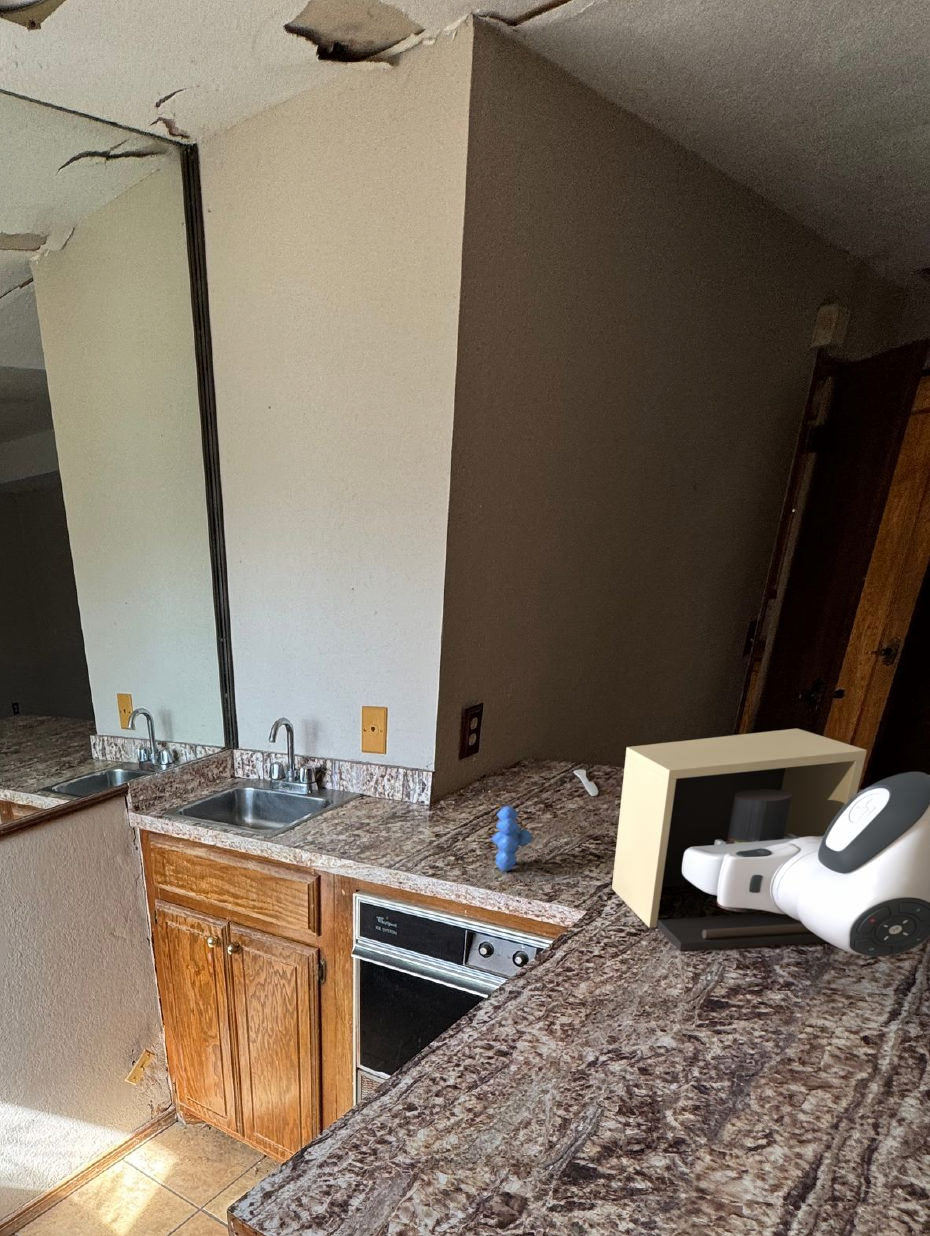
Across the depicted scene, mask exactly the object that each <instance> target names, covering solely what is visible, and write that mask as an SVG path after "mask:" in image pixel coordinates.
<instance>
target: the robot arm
mask: <svg viewBox="0 0 930 1236" xmlns="http://www.w3.org/2000/svg"><path fill="white" fill-rule="evenodd" d="M682 874H683V876H684V877H685V878H686V879H687V880H688V881H689V882H691V883H692V884H693V885H692V886H694V887H696V888H697V889H698V890H701V891H702V892H703V893H706V894H708V895H712V896H716V903H717V902H718V903H719V904H720V905H721V906H724V907H730V908H745V909H758V910H765V911H766V912H769V913H771V912H774V913H779V914H787V915H789V916H791V917H792V918H794V919H796V920H799V921H801V922H802V923H803V925H804V926H805V927H806V928H807V929H809V930H810V931H812V932H813V933H814V934H816V935H817V936H819V937H821V938H822V939H824V940H825V941H827V942H828V944H830V945H832V946H834V947H836V948H839V949H840V950H843V951H845V952H847V953H850V954H854V955H858V956H863V957H870V958H872V957H873V958H882V957H890V956H896V955H900V954H903V953H905V952H908V951H912V950H913V949H915V948H917V947H920V945H922V944H923V943H925V942H926V941H927V940H928V939H930V774H927V773H925V772H922V771H907V772H903V773H902V772H901V773H897V774H893V775H892V776H888V777H886V778H883V779H881V780H878V781H877V782H875V783H873V784H871V785H869V786H867V787H865V788H863V789H862V790H861V791H859V792H857V794H856V795H855V796H853V797H852V798H851V799H850V800H849V801H848V802H847V803H846V804H845V805H844V806H843V807H842V808H841V810H840V811H839V812H838V813H837V815H836V816H835V817H834V819H833V820H832V822H831V823H830V825H829V827H828V828H827V830H826V832H825V834H824V836H819V837H816V836H808V837H799V836H795V835H793V834H791V833H790V834H784V838H783V839H782V840H770V841H758V842H745V843H733V841H731V840H729V839H717V840H715V843H714V845H709V846H695V847H690V848H688V849H687V850H686V851H685V853H684V856H683V862H682Z"/></svg>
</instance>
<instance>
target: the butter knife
mask: <svg viewBox="0 0 930 1236" xmlns="http://www.w3.org/2000/svg"><path fill="white" fill-rule="evenodd" d="M573 774H574V775H575V776H576V777H577V778H579V779H580V781H581V783H582V784H583V787H584V788H585V790H586V791H587V793H588V794H589V795H590V796H591V797H595V796H597V795H598V794H599V790H598V789H599V788H598V787H597V785H596V784H595V782H594V781H589V779H588V778H587V771H586V769H575V770H574V771H573Z"/></svg>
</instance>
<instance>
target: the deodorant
mask: <svg viewBox="0 0 930 1236" xmlns="http://www.w3.org/2000/svg"><path fill="white" fill-rule="evenodd" d="M791 798H792V794H791V793H789V792H786V791H781V790H773V789H753V790H745V791H740V792H737V793H736V794H735V795H734V801H733V807H732V813H731V819H730V825H729V831H728V837H727V839H729V840H731V841H733V843H745V842H758V841H770V840H782V839H783V838H784V833H785V828H786V823H787V818H788V813H789V808H790V803H791ZM716 906H718V907H719V908H721V909H723V910H725V911H729V912H736V913H743V914H754V913H762V912H764V911H765V910H758V909H745V908H730V907H724V906H721V905H720V904H719V903H718V902H717V901H716Z"/></svg>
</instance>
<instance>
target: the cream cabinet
mask: <svg viewBox="0 0 930 1236" xmlns="http://www.w3.org/2000/svg"><path fill="white" fill-rule="evenodd" d="M867 753H868V750H867V749H864V748H861V747H858V746H856V745H852V744H848V743H845V742H842V741H839V740H837V739H836V740H835V739H832V738H829V737H826V736H822V735H820V734H816V733H814V732H810V731H807V730H804V729H800V728H790V729H789V728H788V729H780V730H771V731H761V732H751V733H743V734H733V735H724V736H715V737H708V738H707V737H706V738H697V739H689V740H681V741H680V740H679V741H670V742H661V743H652V744H643V745H642V744H641V745H635V746H633V745H632V746H627V747H626V750H625V760H624V770H623V780H622V789H621V798H620V806H619V807H620V809H619V818H618V827H617V836H616V845H615V846H616V847H615V856H614V865H613V874H612V883H611V884H612V885H611V889H612V890H613V892H615V893H616V895H617V896H618V897H619V898H620V899H621V900H622V901H623V902H624V903H625V904H626V906H628V908H630V909H631V910H632V911H633V912H634V914H635V915H636V916H637V917H638V918H639V919H640V920H641V921H642V922H643V924H645V926H647V928H649V929H651V928H652V929H653V928H657V930H659V931H660V932H661V933H662V934H663V935H664V936H665V938H666V939H667V940H668V941H670V942H671V944H672V945H673V946H674V947H675V948H676V949H677V950H678V951H679V952H687V951H689V952H690V951H705V950H718V949H719V950H720V949H721V950H724V949H737V948H740V949H741V948H756V947H757V948H758V947H772V946H773V947H775V946H791V945H809V944H810V945H811V944H827V943H828V944H829V942H827V941H825V940H824V939H822V938H821V937H819V936H817V935H816V934H814V933H813V932H812V931H810V930H809V929H807V928H806V927H805V926H804V925H803V923H802V922H801V921H799V920H796V919H794V918H792V917H791V916H789V915H787V914H779V913H774V912H755V913H742V914H727V915H713V916H697V917H682V918H681V917H680V918H666V919H659V912H660V903H661V896H662V890H663V888H671V887H683V886H694V885H693V884H692V883H691V882H689V881H688V880H687V879H686V878H685V877H684V876H683V874H682V862H683V856H684V853H685V851H686V850H687V849H688V848H690V847H695V846H709V845H714V843H715V840H717V839H727V837H728V831H729V825H730V819H731V813H732V807H733V801H734V795H735V794H736V793H737V792H740V791H745V790H753V789H773V790H781V791H786V792H789V793H791V794H792V798H791V803H790V808H789V813H788V818H787V823H786V828H785V833H784V834H790V833H791V834H793V835H795V836H799V837H808V836H816V837H819V836H824V834H825V832H826V830H827V828H828V827H829V825H830V823H831V822H832V820H833V819H834V817H835V816H836V815H837V813H838V812H839V811H840V810H841V808H842V807H843V806H844V805H845V804H846V803H847V802H848V801H849V800H850V799H851V798H852V797H853V796H855V795H856V794H857V793H858V790H859V786H860V781H861V777H862V773H863V769H864V765H865V760H866V756H867Z"/></svg>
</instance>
